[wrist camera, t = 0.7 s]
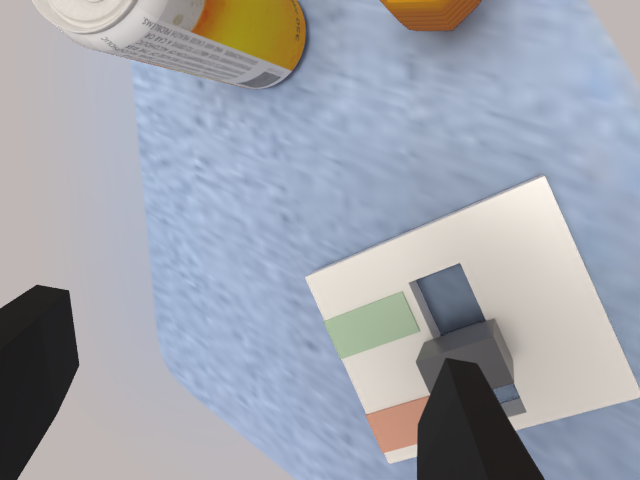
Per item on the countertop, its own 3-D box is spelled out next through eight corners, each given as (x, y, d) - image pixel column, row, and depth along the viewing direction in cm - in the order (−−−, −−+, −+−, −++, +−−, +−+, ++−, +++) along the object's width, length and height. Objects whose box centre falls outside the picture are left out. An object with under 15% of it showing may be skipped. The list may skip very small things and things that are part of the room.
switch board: (634, 381, 29) (644, 398, 27) (395, 446, 34) (388, 465, 32) (542, 174, 29) (545, 176, 27) (315, 270, 34) (303, 278, 32)
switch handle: (512, 348, 30) (514, 382, 26) (444, 369, 32) (435, 406, 27) (494, 308, 30) (493, 336, 26) (428, 332, 32) (415, 362, 27)
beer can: (283, -38, 31) (105, -191, 17) (327, 58, 31) (186, -17, 17) (201, 18, 34) (-16, -78, 19) (243, 108, 34) (56, 77, 20)
